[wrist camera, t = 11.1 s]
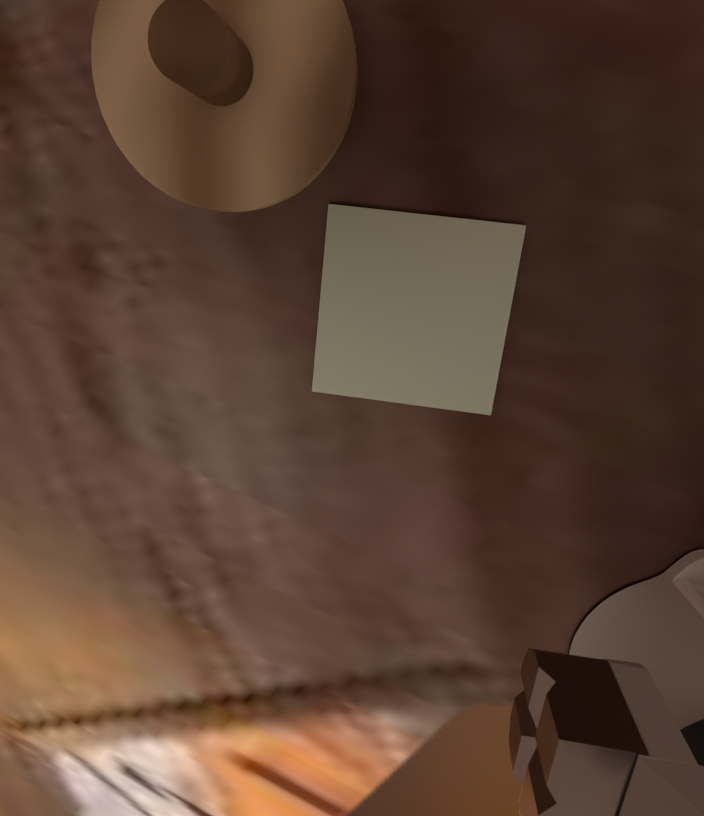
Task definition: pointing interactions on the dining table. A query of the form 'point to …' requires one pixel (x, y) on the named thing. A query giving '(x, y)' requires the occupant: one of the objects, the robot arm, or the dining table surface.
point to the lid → (226, 94)
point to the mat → (414, 307)
